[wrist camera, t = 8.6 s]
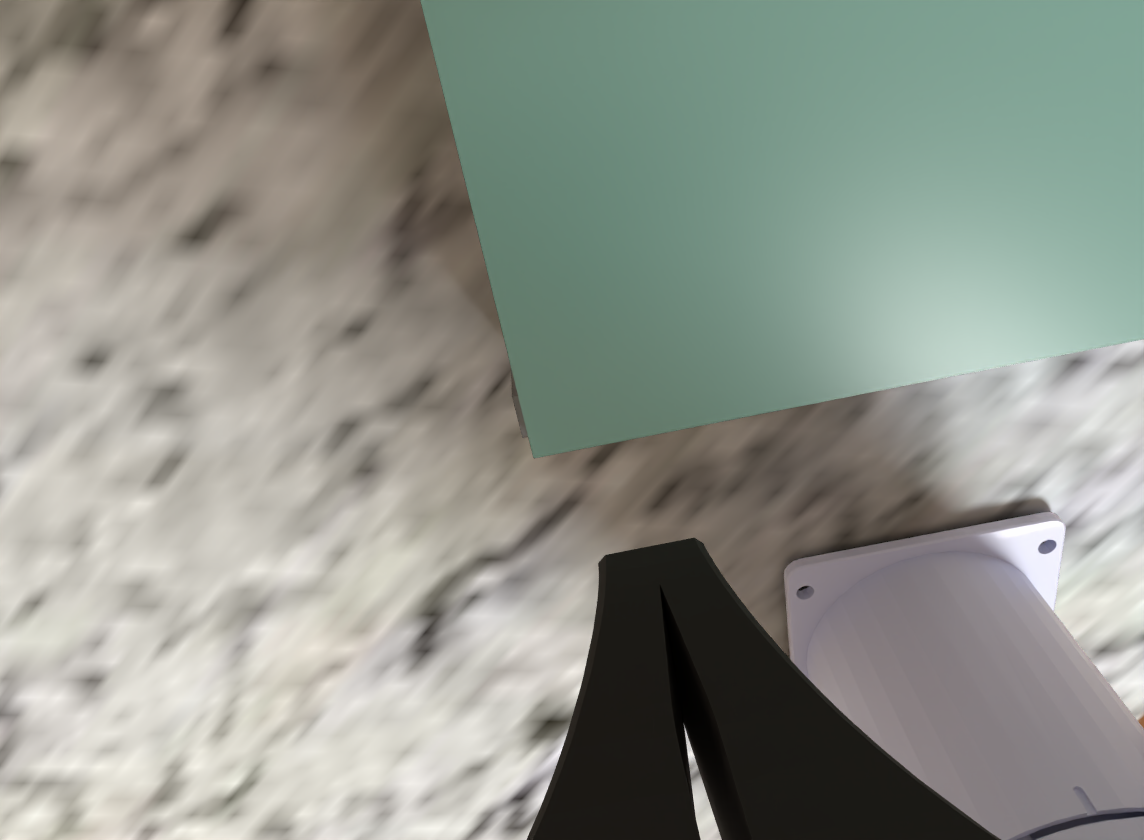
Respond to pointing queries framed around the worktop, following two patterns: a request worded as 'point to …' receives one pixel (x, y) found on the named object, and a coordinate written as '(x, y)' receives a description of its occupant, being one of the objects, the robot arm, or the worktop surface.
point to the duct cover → (791, 196)
